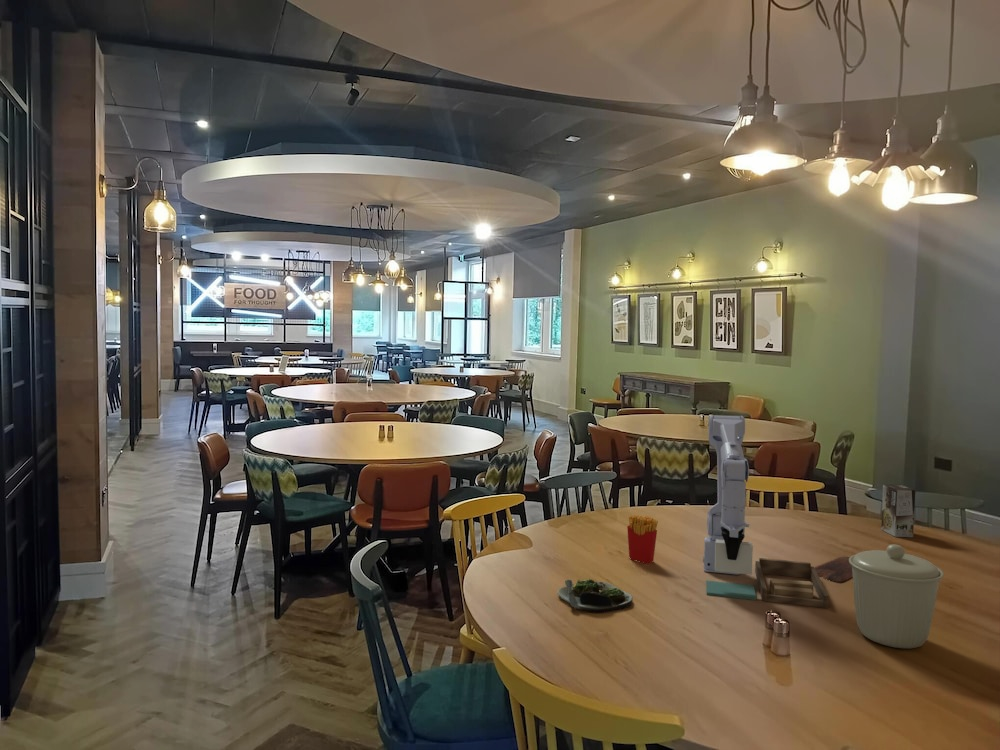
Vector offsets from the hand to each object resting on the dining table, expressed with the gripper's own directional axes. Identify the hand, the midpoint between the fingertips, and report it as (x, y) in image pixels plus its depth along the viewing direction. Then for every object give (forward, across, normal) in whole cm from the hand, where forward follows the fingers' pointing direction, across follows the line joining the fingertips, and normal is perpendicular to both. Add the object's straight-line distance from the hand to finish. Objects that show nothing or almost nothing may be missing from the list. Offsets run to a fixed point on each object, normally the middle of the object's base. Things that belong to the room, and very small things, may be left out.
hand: (731, 557), depth 180 cm
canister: (+9, -19, -33) cm, 39 cm away
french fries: (+9, +18, +24) cm, 31 cm away
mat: (+9, 0, 0) cm, 9 cm away
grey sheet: (+4, 0, 0) cm, 4 cm away
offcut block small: (+9, -1, -15) cm, 18 cm away
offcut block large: (+9, +3, -15) cm, 18 cm away
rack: (+9, +7, -15) cm, 19 cm away
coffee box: (+9, +74, -57) cm, 94 cm away
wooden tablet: (+10, +29, -32) cm, 44 cm away
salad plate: (+10, -17, +33) cm, 38 cm away
